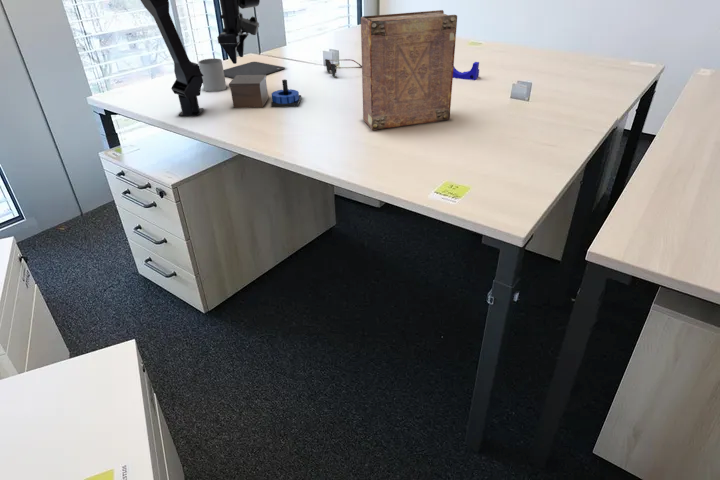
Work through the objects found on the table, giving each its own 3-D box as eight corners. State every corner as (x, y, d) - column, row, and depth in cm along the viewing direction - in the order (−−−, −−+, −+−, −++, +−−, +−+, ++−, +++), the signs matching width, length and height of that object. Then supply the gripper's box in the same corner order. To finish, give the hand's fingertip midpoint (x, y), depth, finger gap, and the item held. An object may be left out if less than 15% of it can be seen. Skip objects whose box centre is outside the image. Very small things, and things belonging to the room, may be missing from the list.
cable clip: (478, 77, 187) (480, 61, 184) (475, 80, 184) (476, 64, 181) (449, 73, 192) (450, 58, 189) (445, 76, 189) (446, 61, 185)
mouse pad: (245, 81, 190) (245, 80, 190) (213, 73, 200) (212, 72, 200) (286, 68, 205) (286, 67, 205) (254, 62, 215) (253, 61, 215)
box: (263, 107, 163) (259, 83, 158) (232, 108, 163) (228, 83, 159) (269, 98, 171) (266, 74, 167) (240, 98, 172) (236, 75, 167)
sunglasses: (325, 70, 200) (325, 58, 198) (360, 68, 206) (361, 56, 203) (335, 79, 190) (335, 66, 187) (372, 76, 195) (373, 64, 192)
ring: (298, 103, 162) (297, 96, 161) (271, 104, 162) (270, 97, 161) (299, 94, 170) (299, 88, 168) (273, 95, 169) (272, 89, 168)
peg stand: (297, 106, 163) (295, 83, 159) (271, 106, 163) (268, 84, 159) (301, 98, 170) (299, 76, 166) (276, 98, 171) (273, 76, 166)
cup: (220, 92, 179) (215, 64, 173) (200, 91, 180) (194, 63, 175) (230, 85, 186) (225, 58, 180) (210, 84, 187) (205, 58, 182)
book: (437, 111, 156) (444, 9, 139) (449, 120, 148) (458, 14, 132) (362, 120, 150) (360, 16, 133) (371, 130, 143) (370, 21, 126)
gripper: (248, 14, 148) (255, 66, 157) (260, 5, 164) (266, 53, 173) (212, 15, 149) (222, 67, 158) (228, 6, 164) (236, 54, 173)
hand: (238, 60), depth 165 cm, fingers open, 9 cm apart
